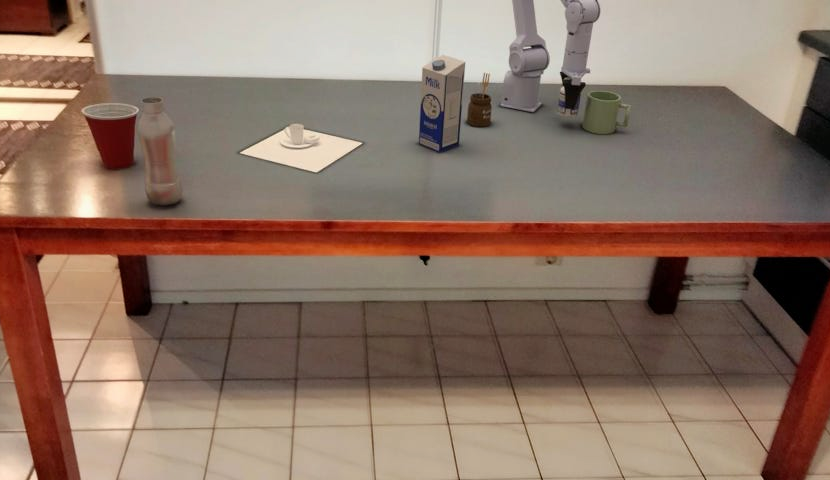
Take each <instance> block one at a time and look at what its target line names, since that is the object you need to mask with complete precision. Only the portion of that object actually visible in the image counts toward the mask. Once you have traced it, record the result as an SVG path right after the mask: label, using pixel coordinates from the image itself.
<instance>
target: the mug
mask: <svg viewBox="0 0 830 480" xmlns="http://www.w3.org/2000/svg"><path fill="white" fill-rule="evenodd" d="M621 102H622V97H621V95H619V94H618V93H616V92H612V91H607V90H591V91H589V92H587V95H586V100H585V107H584V113H583V119H582V128H583V129H584V130H585V131H587V132H590V133H593V134H599V135H608V134H609V135H610V134H613V133H614V132H615V131H616V128H617V127H622V128H627V127H628V125H629V120H630V115H631V109H632V106H631V104H625V103H621ZM620 109H625V115H624V119H623V122H621V121H618V118H619V113H620Z"/></svg>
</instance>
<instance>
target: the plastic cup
mask: <svg viewBox="0 0 830 480" xmlns="http://www.w3.org/2000/svg"><path fill="white" fill-rule="evenodd" d="M80 112H81V114H82V115H83V117H84V118H85V121H86V122H87V125H88V127H89V130H90V133H91V135H92V138H93V141H94V144H95V147H96V150H97V151H98V154H99V156H100V158H101V161H102V164H103V165H104V167H105V168H108V169H111V170H121V169H126V168H129V167H131V166H133V164H134V159H135V157H134V155H135V154H134V153H135V141H136V140H135V139H136V138H135V137H136V135H135V134H136V120H137V116H138V114H139V112H140V110H139V107H137V106H135V105H132V104H128V103H120V102H118V103H117V102H115V103H114V102H106V103H96V104H91V105H87V106H85V107H83V108H82V109H81V111H80Z"/></svg>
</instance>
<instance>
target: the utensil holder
mask: <svg viewBox="0 0 830 480" xmlns="http://www.w3.org/2000/svg"><path fill="white" fill-rule="evenodd" d="M490 76H491V74H490V73H487V72H483V77H482V82H481V81H477V82H476V84H477V85H479V86H480V87H481V85H482V87H483V89H482V92H476V91H475V89H478V88H479V87H478V86H476V85H474V89H473V91H474V92H473V93H472V94H471V95H470V98H469V103H468V106H467V115H466V116H467V117H466V121H467V123H468V124H469V126H472V127H477V128H478V127H479V128H483V127H488V126H489V125H490V123H491V120H492V119H491V118H492V107H493V106H492V104H491V101H492V96H491V95H489V94H487V93H485V92H486V88H487V87H488V86H489V82H490Z"/></svg>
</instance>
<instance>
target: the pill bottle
mask: <svg viewBox="0 0 830 480" xmlns="http://www.w3.org/2000/svg"><path fill="white" fill-rule="evenodd" d="M564 80H571V78H570V77H566V78H564ZM581 96H582V92H581V93H580V95H579V97H578V100H577V103H576V105H575V108H574V109H566V108H565V90H564V86H561V87H560V89H559V95H558V102H557V109H556V111H557V112H556V113H557V115H559V116H561V117H564V118H565V117H566V118H574V117H577V116H578V115H579V109H580V102H581Z"/></svg>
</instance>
